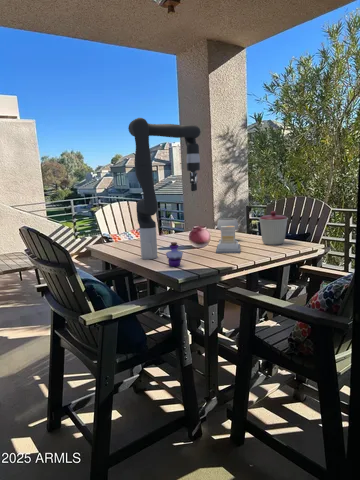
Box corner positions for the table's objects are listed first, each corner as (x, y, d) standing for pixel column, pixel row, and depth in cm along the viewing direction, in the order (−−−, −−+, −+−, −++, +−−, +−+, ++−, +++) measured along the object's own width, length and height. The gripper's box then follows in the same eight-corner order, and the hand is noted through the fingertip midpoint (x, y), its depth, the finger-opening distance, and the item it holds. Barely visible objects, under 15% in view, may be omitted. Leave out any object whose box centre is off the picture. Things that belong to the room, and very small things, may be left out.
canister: (255, 245, 219) (255, 212, 216) (262, 240, 235) (262, 209, 232) (285, 247, 212) (286, 212, 208) (289, 241, 228) (290, 209, 224)
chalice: (241, 242, 234) (240, 219, 231) (220, 243, 232) (220, 220, 230) (234, 238, 248) (234, 217, 245) (215, 239, 246) (215, 218, 243)
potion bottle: (174, 263, 183) (173, 240, 181) (186, 265, 177) (185, 241, 175) (162, 266, 177) (161, 243, 175) (175, 268, 171) (174, 244, 169)
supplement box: (235, 246, 213) (235, 225, 210) (235, 248, 208) (234, 226, 206) (222, 246, 214) (221, 225, 212) (221, 248, 210) (220, 226, 208)
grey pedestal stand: (240, 253, 200) (240, 245, 199) (215, 253, 202) (215, 246, 201) (240, 245, 221) (240, 239, 220) (217, 246, 223) (217, 239, 223)
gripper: (198, 161, 192) (199, 191, 195) (201, 162, 206) (201, 190, 209) (184, 162, 194) (186, 191, 196) (188, 163, 207) (189, 190, 210)
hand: (194, 190), depth 203 cm, fingers open, 8 cm apart
